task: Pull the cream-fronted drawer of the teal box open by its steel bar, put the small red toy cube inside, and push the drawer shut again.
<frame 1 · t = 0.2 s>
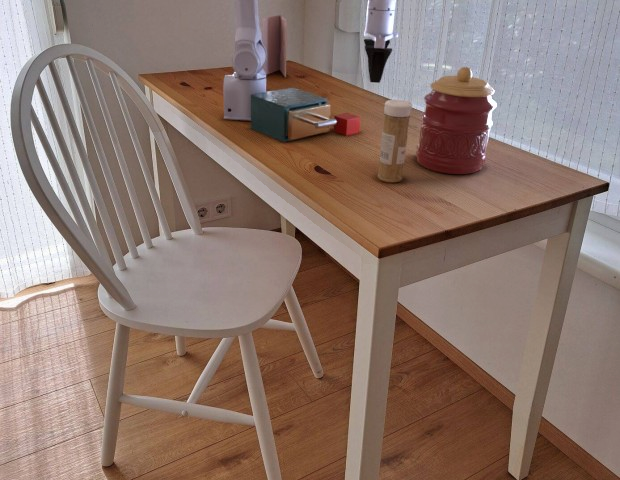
hand: (374, 78, 128), 10 cm above the table, tool pointing down, fingers open, 7 cm apart
greeting card: (279, 74, 174), on the table
small red toy cube: (346, 132, 128), on the table
sprinkles bottle: (389, 179, 106), on the table
kitchen canister: (448, 164, 114), on the table
teal box: (288, 130, 127), on the table
drawer: (302, 118, 123), point 4 cm above the table, slide at 0.5 cm
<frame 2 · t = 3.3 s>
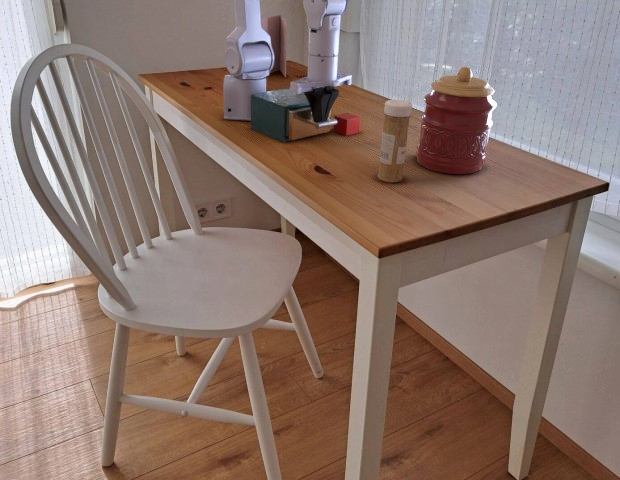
hand: (319, 125, 119), 3 cm above the table, tool pointing down, fingers closed, pressing on drawer
drawer: (303, 119, 122), point 4 cm above the table, slide at 0.7 cm, touching gripper
everything else where it was.
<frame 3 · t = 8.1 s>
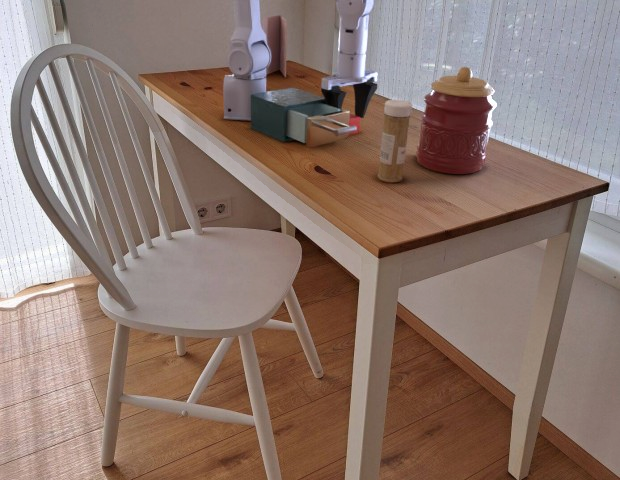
hand: (347, 119, 127), 3 cm above the table, tool pointing down, fingers open, 7 cm apart
drawer: (321, 125, 119), point 4 cm above the table, slide at 6.2 cm, touching gripper
everything else where it was.
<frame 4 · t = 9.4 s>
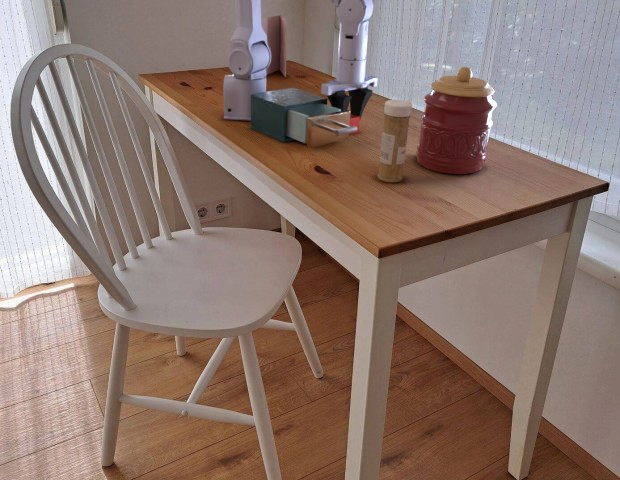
hand: (347, 124, 127), 2 cm above the table, tool pointing down, fingers closed on small red toy cube, 4 cm apart
small red toy cube: (345, 131, 128), on the table, touching gripper
drawer: (321, 125, 119), point 4 cm above the table, slide at 6.4 cm
everything else where it was.
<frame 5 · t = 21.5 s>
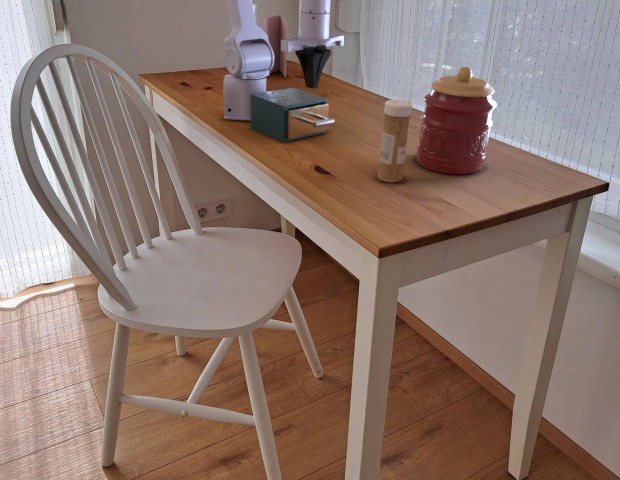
hand: (311, 87, 117), 10 cm above the table, tool pointing down, fingers closed
small red toy cube: (294, 124, 125), point 2 cm above the table, touching drawer
drawer: (300, 118, 123), point 4 cm above the table, slide at -0.1 cm, touching small red toy cube, teal box
everything else where it was.
at the end: drawer pulled out 6.6 cm at the most during the clip, back to where it started at the end; small red toy cube inside the target area in the teal box (2.0 cm from its centre), point 1.8 cm above the teal box's base; drawer slide at -0.1 cm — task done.
